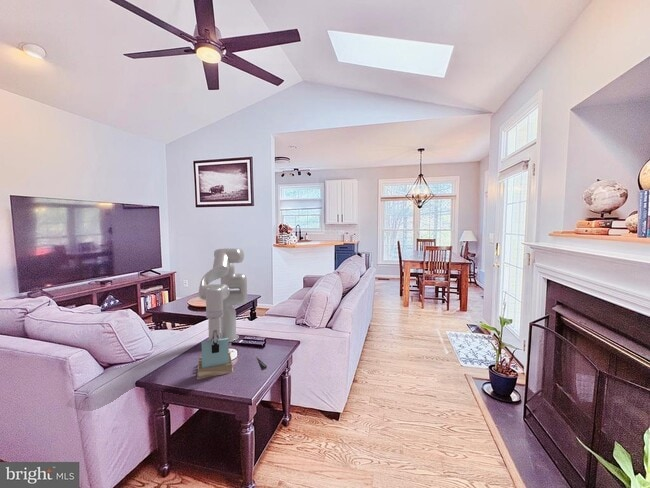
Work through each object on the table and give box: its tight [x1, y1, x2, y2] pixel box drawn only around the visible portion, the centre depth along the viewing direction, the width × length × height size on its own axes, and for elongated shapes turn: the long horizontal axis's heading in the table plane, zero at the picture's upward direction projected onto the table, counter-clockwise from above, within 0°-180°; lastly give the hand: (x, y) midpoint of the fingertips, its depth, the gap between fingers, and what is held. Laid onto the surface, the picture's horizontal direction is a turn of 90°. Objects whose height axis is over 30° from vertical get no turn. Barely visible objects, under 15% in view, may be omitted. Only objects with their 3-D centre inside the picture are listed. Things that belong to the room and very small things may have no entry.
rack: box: [196, 352, 234, 380], centre depth 138 cm, size 15×16×5 cm
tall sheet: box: [201, 338, 230, 368], centre depth 134 cm, size 2×12×16 cm, turn 114°
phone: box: [256, 356, 268, 371], centre depth 145 cm, size 8×1×15 cm
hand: (215, 348), depth 133 cm, fingers open, 9 cm apart
